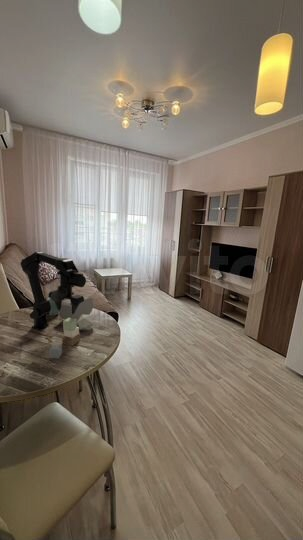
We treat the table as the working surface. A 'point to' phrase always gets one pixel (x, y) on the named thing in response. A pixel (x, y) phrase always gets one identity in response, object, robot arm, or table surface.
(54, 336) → the table surface
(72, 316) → the alarm clock
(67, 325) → the sage cube
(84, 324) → the die
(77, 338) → the tower base
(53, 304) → the cup
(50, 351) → the slate cube
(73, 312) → the robot arm
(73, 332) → the tower top
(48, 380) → the table surface
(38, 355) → the table surface
